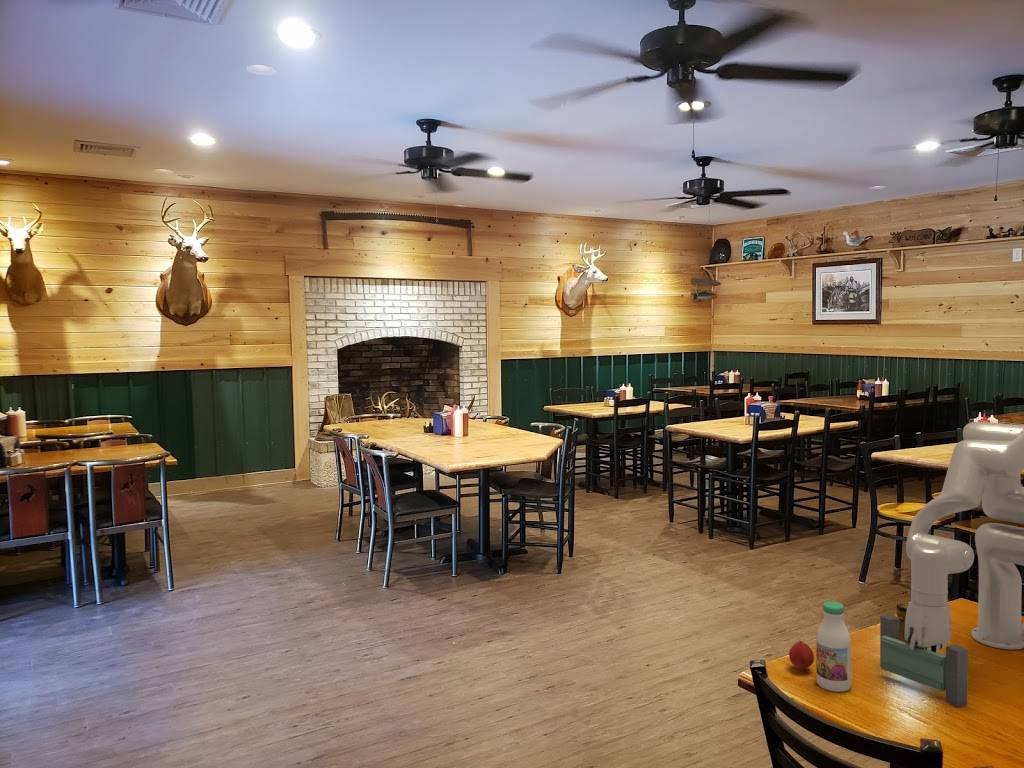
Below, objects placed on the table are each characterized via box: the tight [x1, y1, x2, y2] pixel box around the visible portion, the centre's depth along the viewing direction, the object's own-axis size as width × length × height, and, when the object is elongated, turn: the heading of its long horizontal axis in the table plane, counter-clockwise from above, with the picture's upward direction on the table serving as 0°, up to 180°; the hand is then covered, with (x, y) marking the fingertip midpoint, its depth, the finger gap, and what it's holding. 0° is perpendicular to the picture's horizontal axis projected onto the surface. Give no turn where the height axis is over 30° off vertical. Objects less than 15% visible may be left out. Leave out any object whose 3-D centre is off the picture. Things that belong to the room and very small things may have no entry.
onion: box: [788, 639, 815, 672], centre depth 185 cm, size 6×6×8 cm
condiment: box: [894, 602, 911, 644], centre depth 193 cm, size 7×8×12 cm
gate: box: [880, 635, 946, 692], centre depth 174 cm, size 14×2×8 cm, turn 35°
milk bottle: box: [815, 601, 852, 693], centre depth 176 cm, size 8×8×20 cm
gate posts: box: [879, 613, 969, 708], centre depth 175 cm, size 3×22×13 cm, turn 18°
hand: (928, 671), depth 175 cm, fingers closed
